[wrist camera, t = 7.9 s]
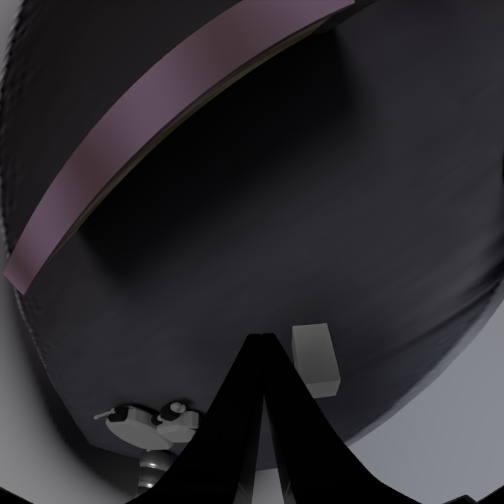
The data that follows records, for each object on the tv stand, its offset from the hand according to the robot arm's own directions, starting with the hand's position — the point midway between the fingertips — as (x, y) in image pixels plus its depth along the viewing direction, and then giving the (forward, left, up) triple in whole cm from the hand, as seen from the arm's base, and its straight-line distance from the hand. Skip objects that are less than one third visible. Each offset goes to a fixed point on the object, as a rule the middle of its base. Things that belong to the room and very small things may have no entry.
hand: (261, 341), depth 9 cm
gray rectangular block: (-4, +12, -11) cm, 17 cm away
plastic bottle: (+22, +48, -11) cm, 54 cm away
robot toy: (+15, +29, -11) cm, 35 cm away
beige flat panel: (+4, -6, -10) cm, 13 cm away
